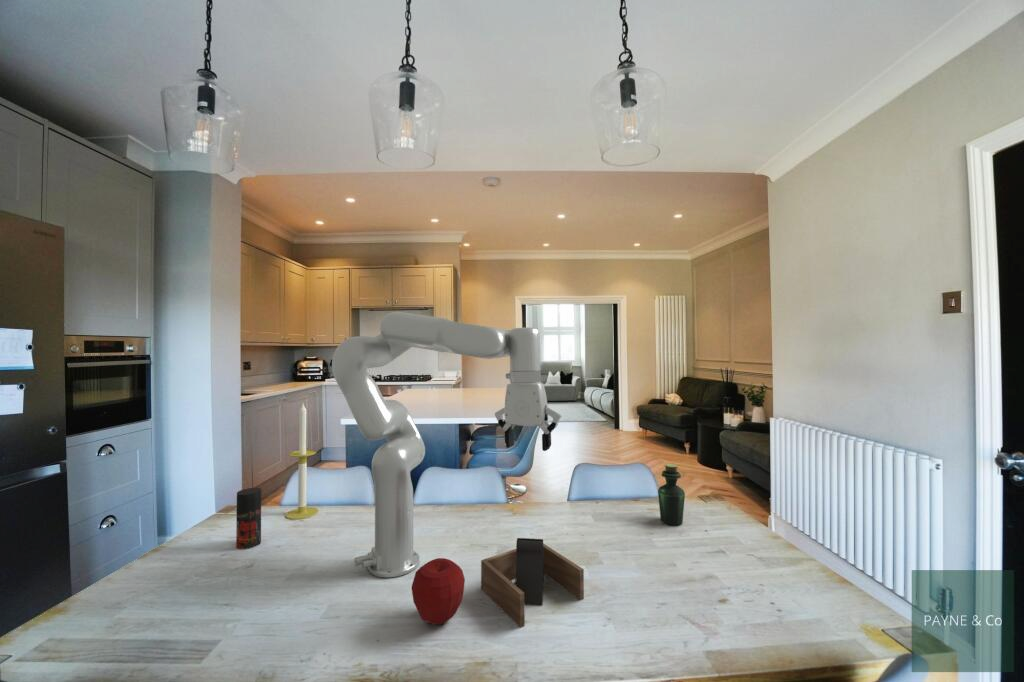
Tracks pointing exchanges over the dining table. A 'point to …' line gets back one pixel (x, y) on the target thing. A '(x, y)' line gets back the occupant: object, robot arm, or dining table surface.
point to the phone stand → (530, 569)
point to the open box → (503, 570)
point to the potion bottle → (671, 497)
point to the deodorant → (248, 518)
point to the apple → (438, 590)
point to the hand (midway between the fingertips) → (527, 448)
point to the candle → (302, 472)
